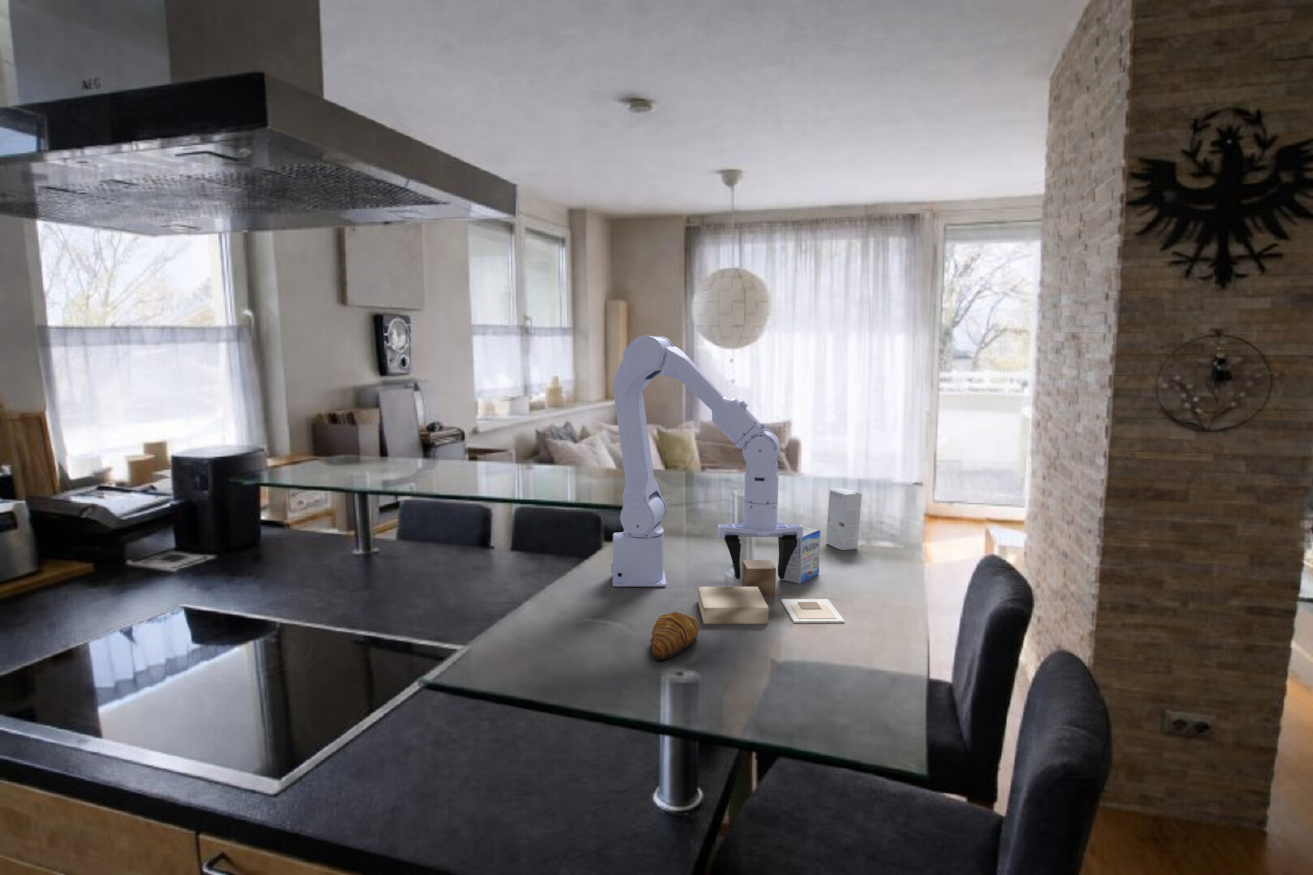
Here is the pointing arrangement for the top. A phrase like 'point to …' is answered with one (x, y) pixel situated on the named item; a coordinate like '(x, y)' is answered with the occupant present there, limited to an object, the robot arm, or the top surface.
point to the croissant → (673, 634)
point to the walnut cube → (759, 576)
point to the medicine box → (804, 558)
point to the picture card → (812, 611)
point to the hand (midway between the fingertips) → (759, 577)
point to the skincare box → (843, 518)
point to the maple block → (732, 605)
